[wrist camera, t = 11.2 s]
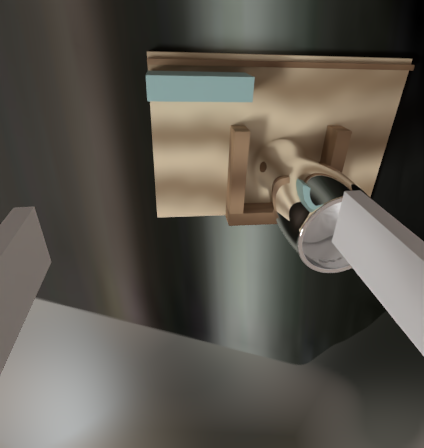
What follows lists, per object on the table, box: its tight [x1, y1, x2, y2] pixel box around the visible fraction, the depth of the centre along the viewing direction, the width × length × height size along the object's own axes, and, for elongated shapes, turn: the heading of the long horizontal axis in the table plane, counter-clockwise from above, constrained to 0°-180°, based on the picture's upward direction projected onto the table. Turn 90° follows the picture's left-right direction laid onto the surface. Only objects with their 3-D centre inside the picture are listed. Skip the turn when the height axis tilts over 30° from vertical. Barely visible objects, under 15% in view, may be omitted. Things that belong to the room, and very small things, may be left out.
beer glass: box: [253, 139, 376, 273], centre depth 30 cm, size 7×7×15 cm
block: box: [146, 70, 255, 102], centre depth 29 cm, size 2×9×4 cm, turn 88°
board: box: [147, 51, 415, 226], centre depth 34 cm, size 17×26×4 cm, turn 88°
